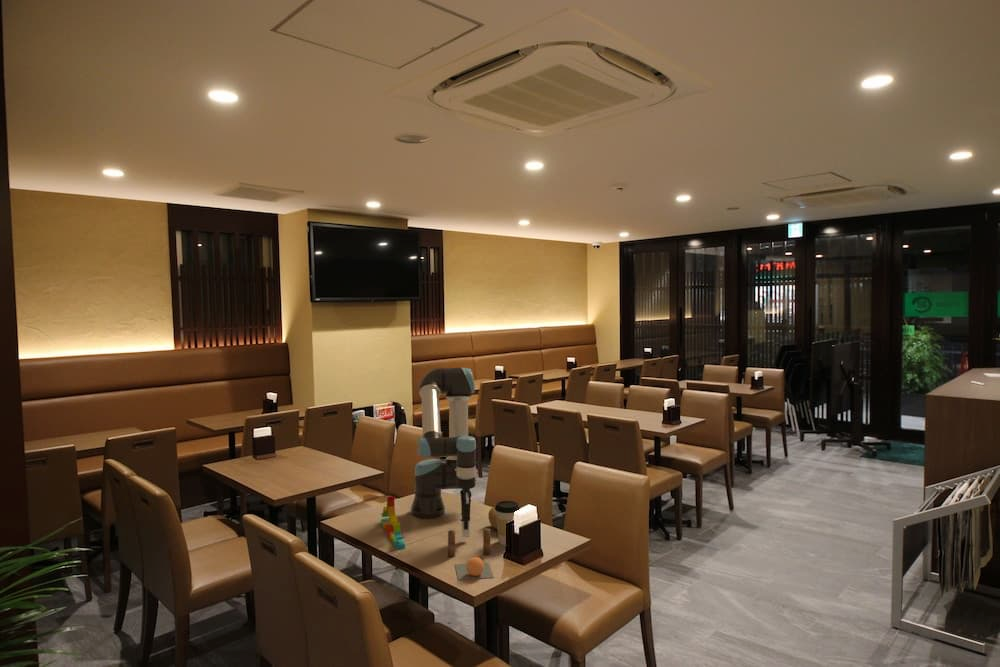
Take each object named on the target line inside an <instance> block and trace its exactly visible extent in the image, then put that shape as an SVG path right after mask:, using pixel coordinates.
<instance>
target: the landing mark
mask: <svg viewBox="0 0 1000 667" xmlns="http://www.w3.org/2000/svg"><path fill="white" fill-rule="evenodd" d="M483 564H484V570H483V572H482V573H481V574H480V575H478V576H472V575H470V574H469V573H468V572H467V569H466V565H467V563H455V564H454V565H455V566H454V567H455V572H456V577H457V580H458V581H463V580H464V581H465V580H467V581H468V580H478V579H479V580H480V579H481V580H482V579H494V578H495V577H494V575H493V574H494V573H493V571H492V568H491V566H490V563H489V562H483Z"/></svg>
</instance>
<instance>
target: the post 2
mask: <svg viewBox="0 0 1000 667" xmlns="http://www.w3.org/2000/svg"><path fill="white" fill-rule="evenodd" d="M482 531H483V537H482V538H483V542H482V544H483V546H482V547H483V548H482V551H483V552H482V554H483V555H484V556H489V555H491V529H490V528H483V530H482Z"/></svg>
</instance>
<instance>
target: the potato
mask: <svg viewBox="0 0 1000 667" xmlns="http://www.w3.org/2000/svg"><path fill="white" fill-rule="evenodd" d="M487 516H488V521H489V524H490V526H491V527H493V528H494V529H495V530H497V520H496V510H495V506H493V507H492V508H490V509H489V511H488V514H487Z"/></svg>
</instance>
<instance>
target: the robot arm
mask: <svg viewBox="0 0 1000 667" xmlns="http://www.w3.org/2000/svg"><path fill="white" fill-rule="evenodd" d="M418 388H419V389H418V394H419V396H420V398H421V421H422V422H421V423H422V426H421V428H422V437H419V438H418V440H417V453H418V456H419V457H422V458H423V457H424V458H427V459H424V460H421V461H419V462H418V463H417V464H416V465H415V467H414V498H413V501H412V504H411V507H410V515H411V516H413V517H415V518H420V519H433V518H434V519H435V518H439V517H441V516H444V514H446V508H445V507H446V506H445V503H444V501H443V498H442V490H453V489H454V490H458V489H459V494H460V503H461V505H460V506H461V514H460V516H461V519H460V522H461V537H462V538H469V537H470V521H471V503H472V498H471V497H472V492H471V489H474V488H475V487H476V475H477V468H476V467H477V466H476V456H477V455H476V454H477V452H476V450H477V443H476V442H477V441H476V438H475V436H472V435H471V436H470V435H469V400H470V399H471V398H472V394H474V393H475V380H474V375H473V371H472V370H471V369H470V368H468V367H438V368H436V367H435V368H433V369H430V370H429V371H428V372H427V373H426V374H425V375H424V376H423V377H422V379H421V381H420V384H419V387H418ZM441 394H445V399H446V400H448V407H449V408H448V409H449V410H448V413H449V414H448V415H449V416H448V418H449V419H448V420H449V422H448V424H449V425H448V426H449V427H448V430H449V432H448V435H449V436H448V437H444V436H443V437H442V432H441V430H442V429H441V428H442V427H441V415H440V414H441V410H440V397H441ZM431 457H433V458H431ZM434 457H445V462H442V460H441V459H440V458H434Z"/></svg>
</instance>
